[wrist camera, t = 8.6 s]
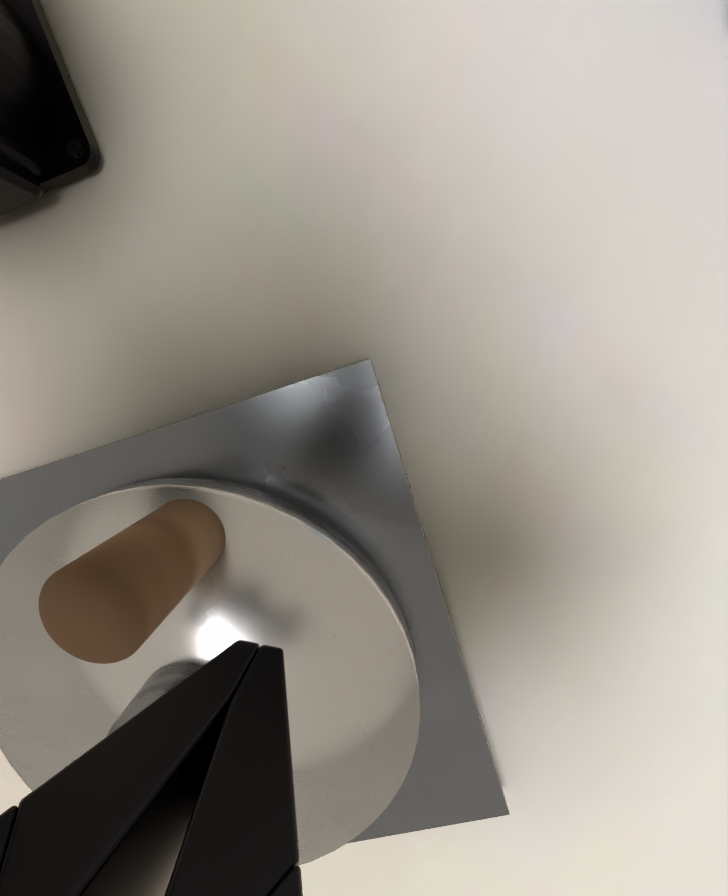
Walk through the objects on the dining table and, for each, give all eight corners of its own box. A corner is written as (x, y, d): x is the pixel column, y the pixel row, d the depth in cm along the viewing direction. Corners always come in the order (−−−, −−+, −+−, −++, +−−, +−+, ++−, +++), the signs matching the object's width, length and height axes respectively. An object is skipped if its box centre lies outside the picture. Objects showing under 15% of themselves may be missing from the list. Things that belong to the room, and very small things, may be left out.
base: (-82, 507, 15) (-244, 556, 11) (370, 359, 13) (364, 355, 9) (117, 859, 19) (46, 990, 15) (502, 787, 16) (538, 918, 13)
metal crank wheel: (-5, 807, 17) (-177, 1002, 11) (17, 425, 13) (-225, 462, 8) (349, 901, 17) (334, 1138, 11) (474, 546, 13) (532, 662, 8)
